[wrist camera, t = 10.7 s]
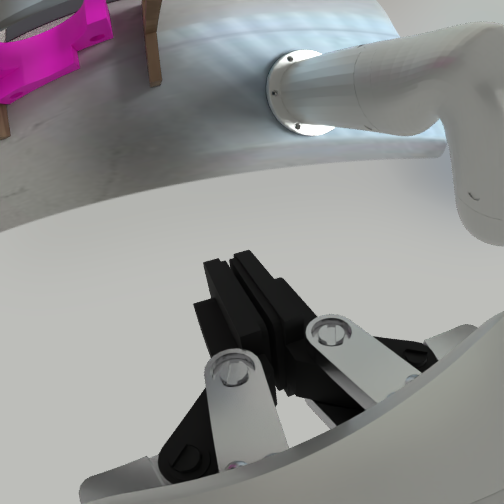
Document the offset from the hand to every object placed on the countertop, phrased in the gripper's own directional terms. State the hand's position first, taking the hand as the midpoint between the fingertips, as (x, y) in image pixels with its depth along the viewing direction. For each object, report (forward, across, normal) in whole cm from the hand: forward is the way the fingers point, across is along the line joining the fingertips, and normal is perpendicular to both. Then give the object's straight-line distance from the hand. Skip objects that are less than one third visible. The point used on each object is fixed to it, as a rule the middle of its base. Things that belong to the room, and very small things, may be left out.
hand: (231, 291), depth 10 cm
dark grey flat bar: (+27, +10, -26) cm, 39 cm away
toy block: (+28, +12, -19) cm, 35 cm away
